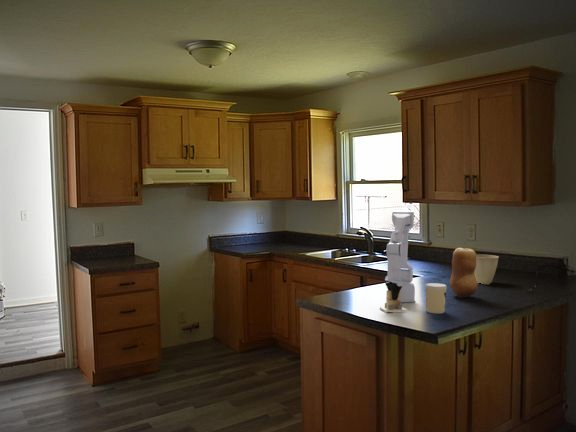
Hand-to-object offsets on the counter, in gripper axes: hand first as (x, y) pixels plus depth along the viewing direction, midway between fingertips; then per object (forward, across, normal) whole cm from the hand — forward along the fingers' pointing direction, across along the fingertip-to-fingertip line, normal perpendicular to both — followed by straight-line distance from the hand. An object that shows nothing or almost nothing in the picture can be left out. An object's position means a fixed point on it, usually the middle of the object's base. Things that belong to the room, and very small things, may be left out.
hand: (393, 299), depth 237 cm
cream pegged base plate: (+5, 0, 0) cm, 5 cm away
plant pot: (+5, -53, +79) cm, 95 cm away
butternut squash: (+5, -20, +46) cm, 50 cm away
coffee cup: (+5, +5, +18) cm, 19 cm away
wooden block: (+4, 0, 0) cm, 4 cm away
